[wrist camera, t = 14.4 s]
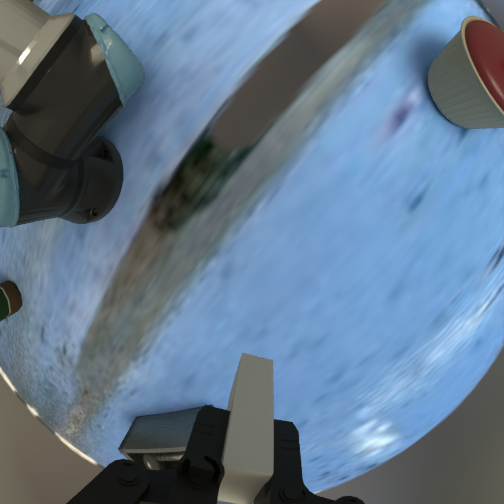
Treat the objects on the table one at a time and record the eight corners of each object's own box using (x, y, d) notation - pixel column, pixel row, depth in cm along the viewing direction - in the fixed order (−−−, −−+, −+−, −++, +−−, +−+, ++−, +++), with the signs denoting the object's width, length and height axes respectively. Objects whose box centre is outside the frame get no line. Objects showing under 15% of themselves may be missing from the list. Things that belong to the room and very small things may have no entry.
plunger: (226, 422, 44) (219, 453, 36) (244, 446, 45) (240, 476, 37) (149, 433, 46) (137, 458, 38) (169, 454, 48) (160, 480, 40)
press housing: (212, 404, 48) (201, 444, 37) (238, 440, 50) (233, 478, 39) (136, 416, 50) (118, 449, 40) (164, 449, 52) (151, 481, 42)
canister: (395, 52, 33) (455, -9, 13) (462, 55, 31) (523, 18, 10) (433, 148, 36) (522, 129, 16) (494, 138, 34) (569, 127, 14)
